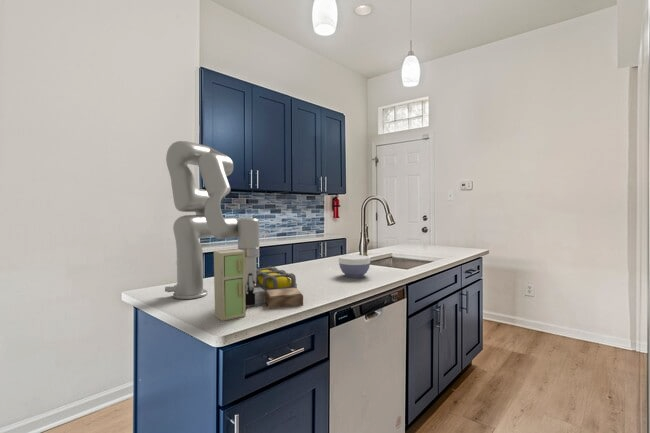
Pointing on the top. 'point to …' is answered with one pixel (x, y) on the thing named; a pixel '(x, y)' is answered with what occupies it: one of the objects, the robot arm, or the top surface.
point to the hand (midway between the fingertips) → (249, 301)
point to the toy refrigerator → (229, 284)
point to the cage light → (274, 279)
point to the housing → (258, 297)
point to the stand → (283, 297)
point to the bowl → (354, 265)
